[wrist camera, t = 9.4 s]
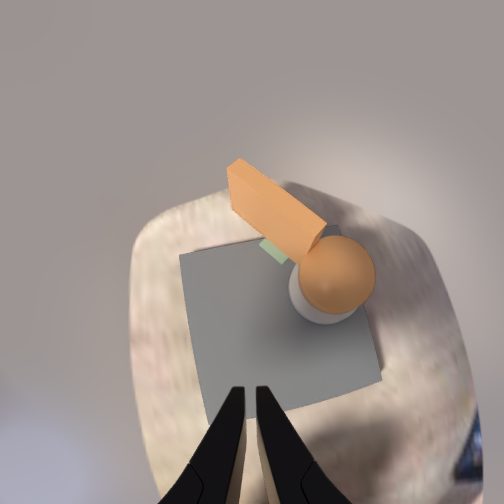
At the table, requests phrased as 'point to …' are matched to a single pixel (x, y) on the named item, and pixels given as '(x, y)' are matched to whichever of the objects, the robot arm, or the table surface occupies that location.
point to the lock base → (269, 330)
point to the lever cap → (303, 242)
